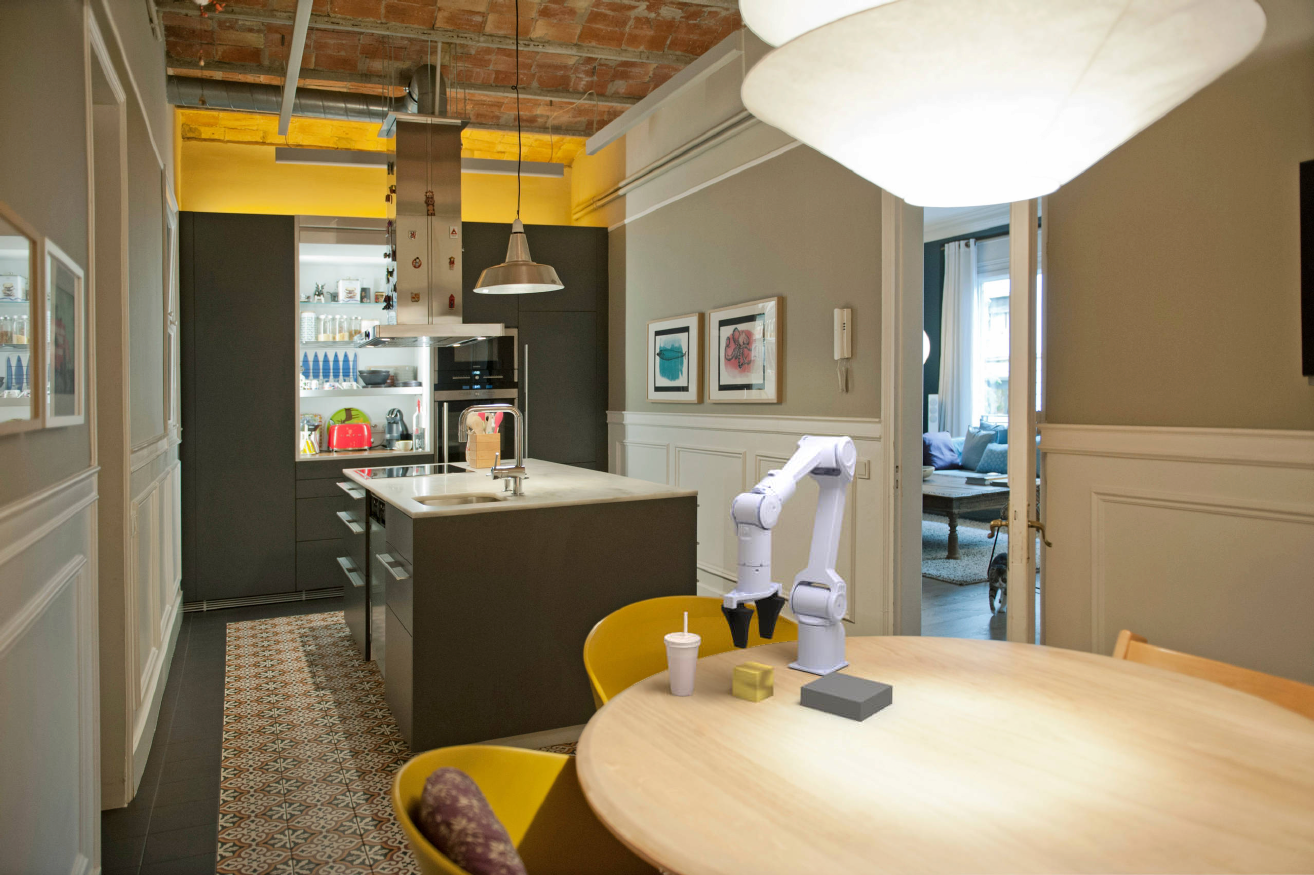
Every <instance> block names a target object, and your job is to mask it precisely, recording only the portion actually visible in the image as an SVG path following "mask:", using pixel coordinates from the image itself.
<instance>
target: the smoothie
mask: <svg viewBox="0 0 1314 875" xmlns="http://www.w3.org/2000/svg"><path fill="white" fill-rule="evenodd" d="M663 639H664V640H663V643H664V644H665V649H666V657H667V664H668V665H667V666H668V676H669V682H670V690H671V691H670V692H671V694H672V695H674V696H678V697H686V696H687V697H688V696H691V695H692V694H693V693H694V686H695V677H696V670H697V662H698V655H699V646H700V645H701V643H702V641H701V636H700V635H698V634H695V633H691V632H688V612H687V611H684V612H683V632H680V631H679V632H671V633H668V634H666V635H664V638H663Z"/></svg>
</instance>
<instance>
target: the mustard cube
mask: <svg viewBox="0 0 1314 875" xmlns="http://www.w3.org/2000/svg"><path fill="white" fill-rule="evenodd" d="M774 668H775V667H774V666H771V665H766V664H762V663H759V662H755V661H751V660H748V661H747V662H744V663H741V664H739V665H736V666H733V667H732V697H734V698H737V699H741V700H744V701H748V702H751V703H756V704H758V703H760V702H762V701H764V700H766V699H768V698H771V697H773V696H774V685H775V683H774V682H775V681H774V677H775V674H774V673H775V672H774V670H775V669H774Z"/></svg>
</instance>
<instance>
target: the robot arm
mask: <svg viewBox="0 0 1314 875" xmlns="http://www.w3.org/2000/svg"><path fill="white" fill-rule="evenodd" d="M857 454H858V452H857V450H856V447H855V443H854V442H853V439H852V438H851V437H850V436H848V435H845V436H817V435H814V436H813V435H809V434H806V435H803V436H802V437H801V438H800V440H799V441H797V442H796V447H795V453H794V454H793V456H792V457H791V458H790V459H789V460H788V461H787V463H786V464H785V465H784V466H783V467H782V468H781V469H770V470H769V471H767V473H766V476H764V478H762V479H761V480H760V481H759V482H758V483H757V484H756V485H755V486H754V487H753V488H752V489H751V490H750V491H748V492H742V493H740V494H739V495H737V496H736V497H735V499H734V500H733V502H732V505H731V509H730V511H729V512H730V519H731V521H732V523H733V525H734V526H733V527H734V530H733V532H734V534H735V536H737V543H736V544H737V546H736V547H737V549H736V550H737V555H736V556H737V560H736V561H737V562H736V563H737V564H736V569H737V570H736V571H737V572H736V585H734V586H732V588H731V589H732V591H730V592H729V593H727V594H724V595H723V603H722V604H721V605H720V606H721V607H720V610H721V612H722V613H723V616H724V617H725V619H726V621H727V624H728V627H729V630H730V634H731V638H732V642H733V646H734V647H735V648H738V649H743V650H745V649H747V647H748V642H749V629H750V625H751V621H752V617H753V615H754V613H755V609H756V613H757V622H758V624H757V625H758V633H759V637H760V638H762V639H766V640H772V639H773V636H774V632H775V628H776V624H777V621H778V617H779V616H780V613H781V610H782V609H783V607H784V605H785V604H786V598H785V597H784V596H781V595H783V583H779V582H774V581H772V528H773V527H775V526H776V525H777V522H778V519H779V515H780V513H781V512H782V507H783V506H784V505H785V504H786V503H787V502H788V501H790V499H791V498H792V497H793V496H794V495H795V493H796V490H797V485H796V484H797V483H799V481H801V480H802V479H803V478H805V476H807V475H808V476H809V478H810V479H812V481H815V482H817V484H818V487H819V491H818V499H817V505H816V511H815V518H814V523H813V524H814V525H813V531H812V536H811V537H812V538H811V543H810V549H809V556H808V563H807V567H806V568H804V569H803V570H801V571H800V572H798V573H797V574H796V575H795V576H794V580H793V581H794V582H793V584H792V587H791V589H790V591H789V594H788V598H787V599H788V600H787V601H788V602H787V603H788V606H789V611H790V612H791V613H792V614H793V615H794V620H797V660H796V661H794V662H791V663H789V664H788V665H787V666H788V668H792V669H795V670H799V671H804V672H808V673H811V674H814V675H815V674H816V675H819V676H825V675H828V674H830V673H832V672H837V671H838V670H840V669H843V668H845V667H847V666H849V664H850V661H847V660H845V659H846V630H845V626H844V625H843V623H842V622H841V621H842V620H843V618H844V616H845V615H846V612H847V609H848V600H847V586H848V585H847V583H846V582H845V581H844V580H843V578H842V577H841V576H840V575H839V574H838V573H837V572H836V566H837V561H838V553H839V547H840V539H841V532H842V526H843V519H844V512H845V508H846V507H845V506H846V499H847V492H848V485H849V484H850V483H852V482H853V480H854V475H855V469H856V463H857V457H858V456H857ZM814 584H818V585H814ZM819 585H822V586H819ZM823 585H824V586H823ZM825 586H828V587H825ZM751 602H754V604H755V609H753V608H747V606H746V605H745V604H750V603H751Z"/></svg>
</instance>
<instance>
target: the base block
mask: <svg viewBox="0 0 1314 875" xmlns="http://www.w3.org/2000/svg"><path fill="white" fill-rule="evenodd" d="M893 691H894V690H893V685H891V684H888V683H883V682H880V681H875V680H870V679H868V678H867V679H866V678H862V677H858V676H855V675H850V674H846V673H841V672H838V671H834V672H831V673H829V674H827V675H822V676H821V677H819V678H816V679H814V680H812V681H810V682H809V683H806V684H803V685H801V686H800V697H799V698H800V704H799V705H800V706H802V707H805V708H808V709H812V710H817V711H819V712H823V713H827V714H831V715H835V716H837V717H842V718H845V719H847V720H848V719H849V720H851V721H856V722H858V723H859V722H860V723H862V722H863V721H865V720H867V719H868V718H870V717H872V716H873V714H874V715H875V714H878V713H879V712H881V711H882V710H884V709H886V708H888V707H889V706H891V705H892V704H893ZM885 707H886V708H885ZM880 710H881V711H880Z"/></svg>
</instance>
